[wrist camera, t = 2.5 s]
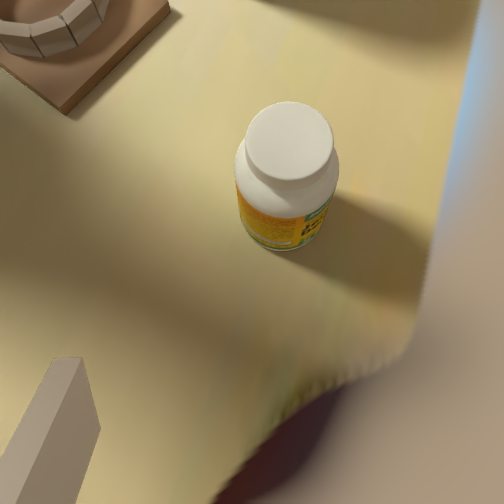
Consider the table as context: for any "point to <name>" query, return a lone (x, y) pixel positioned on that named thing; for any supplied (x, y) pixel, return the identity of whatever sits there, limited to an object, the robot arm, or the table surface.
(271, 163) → the supplement bottle
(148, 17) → the socket board
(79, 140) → the table surface
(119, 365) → the table surface
